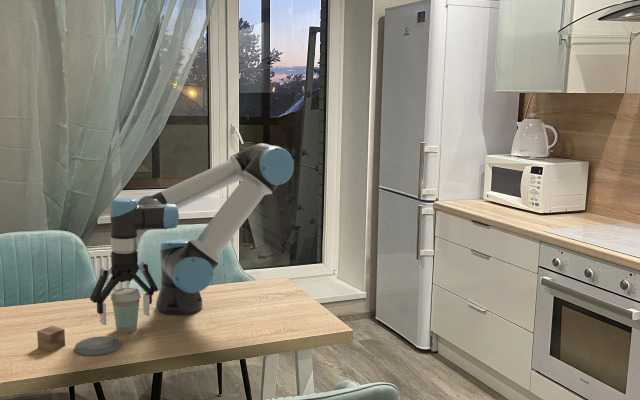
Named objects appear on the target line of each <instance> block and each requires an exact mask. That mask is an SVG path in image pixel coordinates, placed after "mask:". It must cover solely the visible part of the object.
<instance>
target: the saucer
mask: <svg viewBox="0 0 640 400" xmlns="http://www.w3.org/2000/svg"><path fill="white" fill-rule="evenodd" d="M120 348H121V341H120V339H118V338H117V337H114V336H112V337H111V336H107V335H105V336H92V337H87V338H85V339H83V340H82V339H81V340H80V341H77V343H76V344H75V345H74V351H75V353H76V354H78V355H81V356H87V357H97V356H98V357H99V356H103V355H108V354H111V353H114V352H116V351H117V350H118V349H120Z"/></svg>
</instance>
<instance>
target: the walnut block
mask: <svg viewBox="0 0 640 400" xmlns="http://www.w3.org/2000/svg"><path fill="white" fill-rule="evenodd" d="M36 334H37V348H38V349H41V350H43V351H46V352H50V353H51V352H53V351H56V350H58V349H60V348H64V347H65V346H66V337H65V335H66V333H65V328H61V327H58V326H56V325H51V326H48V327H45V328H42V329H39V330H37V333H36Z"/></svg>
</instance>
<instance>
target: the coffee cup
mask: <svg viewBox="0 0 640 400" xmlns="http://www.w3.org/2000/svg"><path fill="white" fill-rule="evenodd" d="M111 293H112V294H111V296H110V300H111V301H112V306H113V307H112V308H113V315H114V321H115V327H116V331H117V332H118V333H122V334H123V333H125V334H127V333H128V334H129V333H131V332H134V331H136V330H137V326H138V321H139V320H138V318H139V308H140V298H141V296H142V295H141V293H140V291H139V289H137V288H136V287H121V288H116V289H114V290H112V292H111Z"/></svg>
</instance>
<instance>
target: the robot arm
mask: <svg viewBox="0 0 640 400" xmlns="http://www.w3.org/2000/svg"><path fill="white" fill-rule="evenodd" d="M294 165H295V163H294V159H293V156H292V155H291V153H290V152H289V151H288V150H286V149H285V148H283V147H281V146H279V145H271V144H268V143H264V142H263V143H256V144H253V145H251V146H249V147H247V148H244V149H243V150H240V151H238V152H236V153H234V154H232V155H230V156H229V159H228V160H227V161H224V162H222V163H220V164H217V165H216V166H213V167H211V168H209V169H206V170H205V171H203V172H200V173H198V174H196V175H194V176H192V177H189V178H187V179H185V180H183V181H181V182H179V183H177V184H174V185H172V186H170V187H168V188H166V189H163V190H161V191H159V192H157V193H155V194H152V195H145V196H142V197H141V198H139V199H138V200H137V199H136V198H133V197H131V198H130V197H119V198H115V199H113V200H112V201H111V203H110V214H109V217H110V245H111V246H110V249H111V252H110V254H111V256H110V258H111V259H110V260H111V261H110V263H111V267H110V269H109V268H108V269H107V268H104V267H101V269H100V274H99V275H100V276H99V278H98V280H97V282H96V285H95V286H94V288H93V291H92V293H91V296H90V298H89V300H90V301H91V302H92V303H95V304H96V312H97V313H98V314H99V322H100V324H102V325H103V326H106V325H107V303H106V302H105V301H106V299H107V298H108V296H109V295H110V294H111V293H112V292H113V291H114V290H113V289H114V288H115V287H116V286H117V285H118V284H119V283H124V282H130V281H132V280H133V281H134V282H135V283H136V284H137V285H138V286H139V287H140V288H142V290H143V291H144V292H143V293H142V295H143V297H142V300H143V302H142V304H143V307H142V308H143V309H142V310H143V311H142V313H143V315H145V316H147V317H148V316H149V317H150V313H151V312H150V305H152V303H153V295H154V294H155V292H157V291H159V293H158V295H157V299H156V301H155V309H156V311H157V312H159V313H160V314H164V315H171V316H181V315H182V316H183V315H189V314H193V313H196V312H199V311H200V310H202V309H203V298H202V295H201V291H203V290H205V289H207V288H208V287H209V285H211V282H212V281H213V278H214V270H215V269H216V268H217V266H218V265H219V264H220V255H221V253H222V252H223V251H224V249H225V248H226V247H227V245H228V244H229V243H230V241H231V240H232V238H233V237H234V236H235V235H236V233H237V232H238V230H239V229H241V227H242V225H243V224H244V223H245V221H246V220H247V219H248V218H249V216H250V215H251V213H252V212H253V211H254V210H255V208H256V207H257V206H258V204H259V203H261V201H262V199H263V197H264V196H267V195H272V194H273V193H274V192H275V190H276V189H277V188H278V186H280V185H283V184H285V183H287V182H288V181H289V180H290V179H292V176H293V173H294V169H295V166H294ZM237 182H239V184H238V185H237V187H236V188H235V189H234V190H233V191H232V192H231V194H230V195H229V197H228V198H227V199H226V201H224V203H223V205H221V207H220V208H219V209H218V210H217V212H216V213H215V215H214V216H213V217H212V219H211V220H210V221H209V223H208V224H207V225H206V226H205V227H204V229H203V230H202V232H201V233H200V234H199V235H198V236H197V238H195V239H185V238H183V239H172V240H165V241H162V242H161V244H160V250H159V253H160V280H161V281H160V282H161V283H160V288H158V286H157V283H156V282H155V280H154V278H153V276H152V274H151V272H150V271H149V265H148V264H147V263H146V262H143V261H142V262H141V263H139V262H138V261H139V260H138V259H139V257H138V256H139V255H138V253H139V251H138V248H139V246H138V242H139V241H138V231H151V230H168V229H176V228H177V227H178V225H179V219H180V213H179V209H181V208H183V207H186V206H188V205H190V204H192V203H194V202H196V201H199V200H200V199H203V198H205V197H207V196H209V195H212V194H213V193H216V192H218V191H220V190H222V189H224V188H226V187H228V186H231V185H232V184H235V183H237ZM138 263H139V264H138ZM139 271H141V273H142V275H143V276H144V279H145V280H146V282H147V283H148V284H146V283H145V282H144V281H143V280H142V279H141V277H139V276H138V275H137V273H138V272H139ZM110 274H111V275H112V276H111V277H110ZM108 277H110V278H109V280H108ZM107 280H108V281H107ZM106 282H107V284H106ZM105 284H106V285H105Z"/></svg>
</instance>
